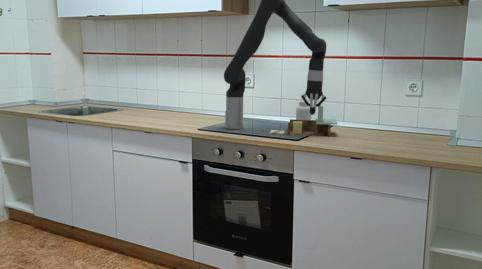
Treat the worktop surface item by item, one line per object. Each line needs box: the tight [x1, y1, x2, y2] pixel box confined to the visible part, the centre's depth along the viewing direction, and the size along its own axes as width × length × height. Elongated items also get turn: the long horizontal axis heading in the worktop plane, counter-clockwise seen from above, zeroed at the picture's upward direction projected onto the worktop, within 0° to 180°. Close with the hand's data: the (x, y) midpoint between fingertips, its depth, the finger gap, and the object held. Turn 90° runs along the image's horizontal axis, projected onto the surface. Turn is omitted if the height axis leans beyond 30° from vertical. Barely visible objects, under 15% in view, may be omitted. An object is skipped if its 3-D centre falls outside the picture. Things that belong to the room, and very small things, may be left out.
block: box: [293, 121, 302, 134], centre depth 227 cm, size 4×4×6 cm
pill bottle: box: [295, 100, 312, 120], centre depth 246 cm, size 8×8×15 cm
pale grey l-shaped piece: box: [315, 104, 338, 126], centre depth 224 cm, size 10×13×8 cm
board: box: [268, 118, 332, 138], centre depth 227 cm, size 30×13×7 cm, turn 82°
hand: (312, 114), depth 225 cm, fingers closed
